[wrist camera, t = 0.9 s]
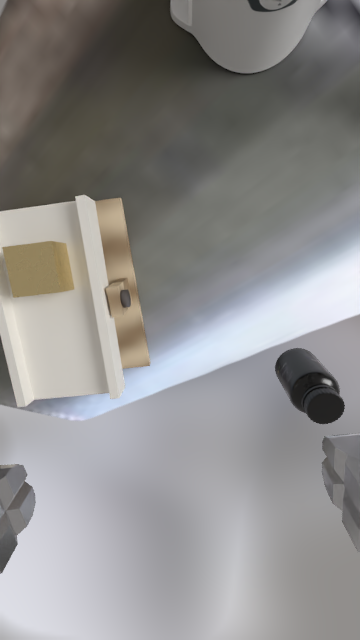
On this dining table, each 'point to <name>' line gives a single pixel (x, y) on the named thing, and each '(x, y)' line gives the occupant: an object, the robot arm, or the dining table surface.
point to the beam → (60, 310)
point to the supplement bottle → (310, 385)
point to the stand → (122, 284)
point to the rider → (38, 268)
